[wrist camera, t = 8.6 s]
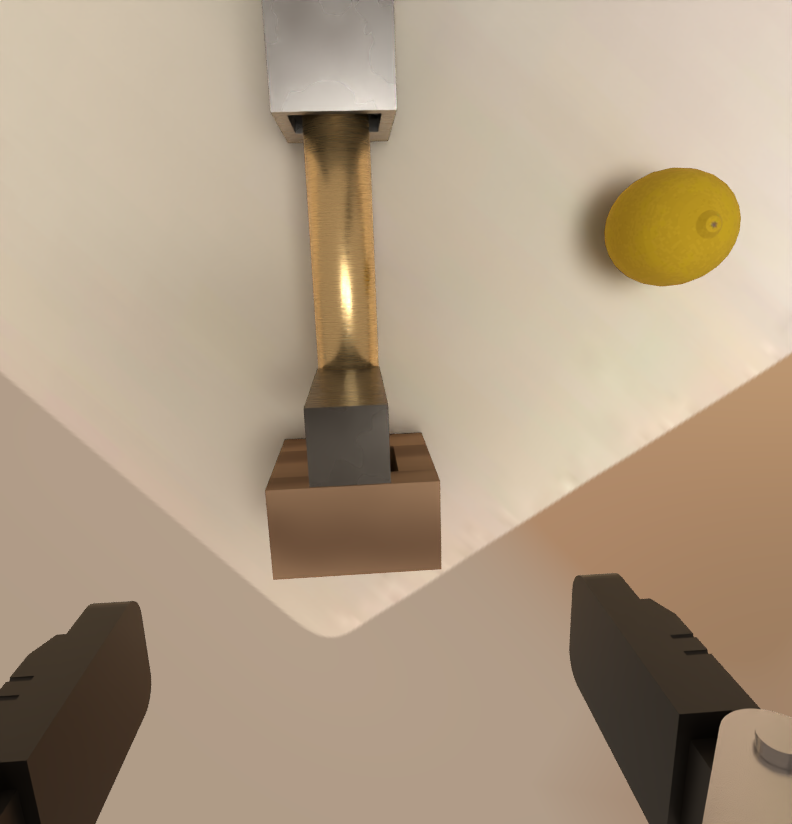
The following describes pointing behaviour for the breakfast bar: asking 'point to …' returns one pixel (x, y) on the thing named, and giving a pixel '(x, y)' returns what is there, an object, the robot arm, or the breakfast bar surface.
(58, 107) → the breakfast bar surface
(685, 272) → the lemon
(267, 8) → the sleeve
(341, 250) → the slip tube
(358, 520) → the socket
